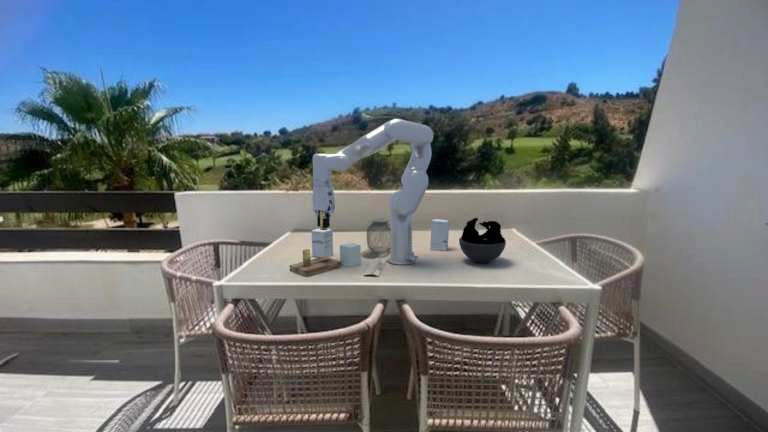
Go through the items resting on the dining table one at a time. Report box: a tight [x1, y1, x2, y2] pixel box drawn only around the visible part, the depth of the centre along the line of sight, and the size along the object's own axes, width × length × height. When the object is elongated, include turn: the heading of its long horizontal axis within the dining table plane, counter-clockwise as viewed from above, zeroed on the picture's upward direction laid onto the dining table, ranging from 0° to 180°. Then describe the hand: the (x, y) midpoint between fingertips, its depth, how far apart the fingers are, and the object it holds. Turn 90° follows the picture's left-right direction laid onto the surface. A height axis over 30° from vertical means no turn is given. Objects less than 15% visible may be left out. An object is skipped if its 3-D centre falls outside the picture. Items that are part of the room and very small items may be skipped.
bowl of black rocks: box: [458, 217, 507, 264], centre depth 170 cm, size 20×20×19 cm
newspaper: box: [363, 257, 388, 278], centre depth 164 cm, size 24×7×2 cm, turn 172°
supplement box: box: [311, 227, 334, 258], centre depth 183 cm, size 7×7×13 cm
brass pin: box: [319, 211, 328, 230], centre depth 164 cm, size 3×3×9 cm
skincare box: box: [429, 218, 450, 252], centre depth 193 cm, size 8×6×15 cm
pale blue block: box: [339, 242, 362, 268], centre depth 169 cm, size 6×6×9 cm
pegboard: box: [289, 248, 343, 278], centre depth 163 cm, size 12×18×9 cm, turn 136°
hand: (323, 226), depth 164 cm, fingers closed on brass pin, 3 cm apart
